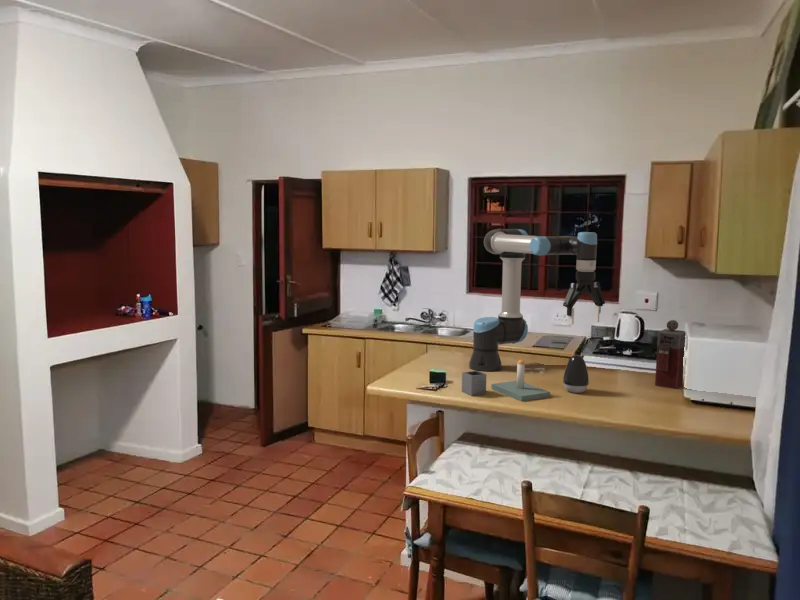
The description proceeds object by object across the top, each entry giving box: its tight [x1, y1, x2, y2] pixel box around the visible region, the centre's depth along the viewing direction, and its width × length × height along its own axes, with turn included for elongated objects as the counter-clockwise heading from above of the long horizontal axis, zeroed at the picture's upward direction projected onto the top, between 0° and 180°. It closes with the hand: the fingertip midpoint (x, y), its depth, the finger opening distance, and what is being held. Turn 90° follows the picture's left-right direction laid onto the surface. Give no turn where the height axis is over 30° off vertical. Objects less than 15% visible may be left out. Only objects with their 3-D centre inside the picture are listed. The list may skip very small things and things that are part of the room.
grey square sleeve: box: [461, 370, 487, 397], centre depth 259 cm, size 7×7×8 cm
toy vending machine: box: [654, 319, 687, 390], centre depth 272 cm, size 9×11×28 cm
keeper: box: [490, 359, 551, 402], centre depth 259 cm, size 20×14×14 cm
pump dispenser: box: [562, 354, 590, 394], centre depth 262 cm, size 10×10×15 cm
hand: (583, 322), depth 262 cm, fingers open, 13 cm apart
